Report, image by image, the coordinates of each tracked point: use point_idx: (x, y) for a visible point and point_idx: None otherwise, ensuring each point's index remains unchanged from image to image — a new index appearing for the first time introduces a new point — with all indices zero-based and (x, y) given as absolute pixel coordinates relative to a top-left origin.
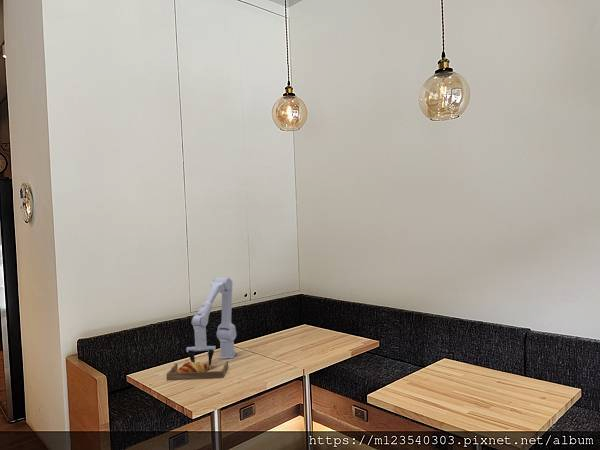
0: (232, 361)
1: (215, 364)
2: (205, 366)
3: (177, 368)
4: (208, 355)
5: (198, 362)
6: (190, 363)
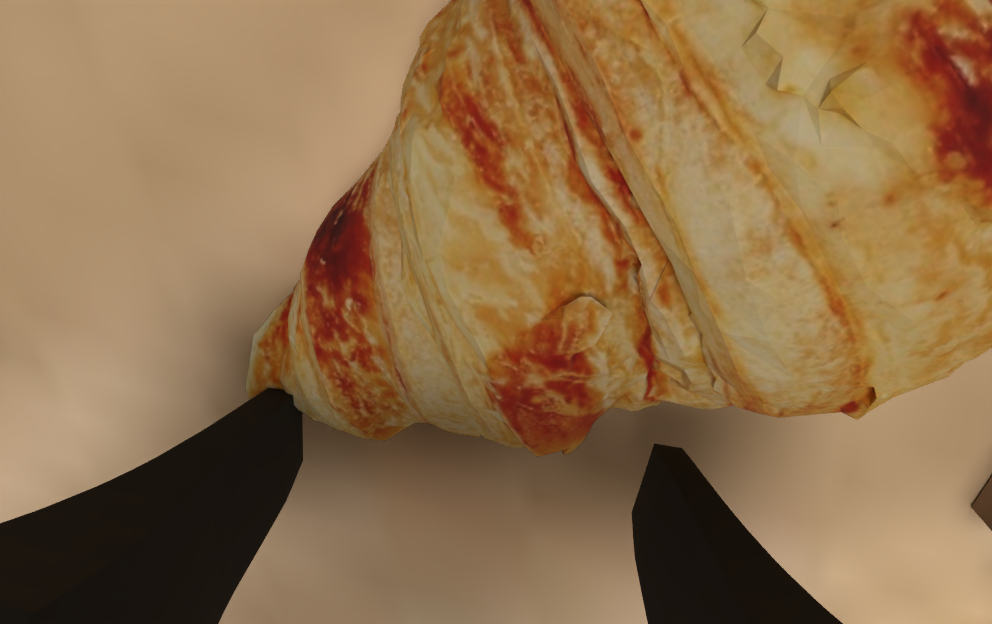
0: None
1: None
2: (336, 244)
3: (986, 514)
4: (121, 548)
5: (526, 348)
6: (891, 39)
